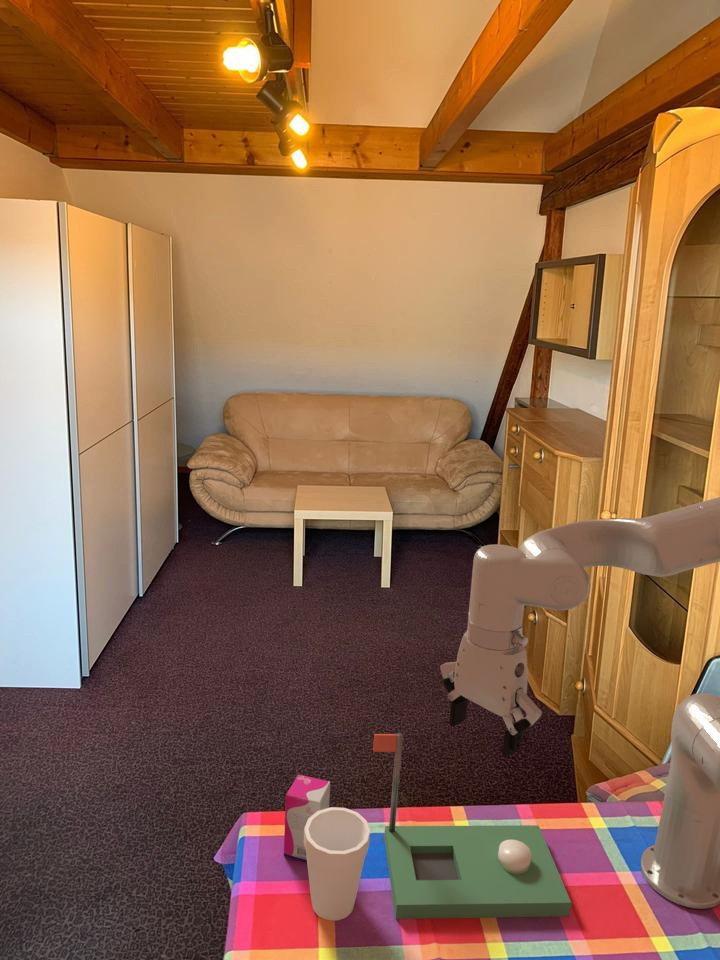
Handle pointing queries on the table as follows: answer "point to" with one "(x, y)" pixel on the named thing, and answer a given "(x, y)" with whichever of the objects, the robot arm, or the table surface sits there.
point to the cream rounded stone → (514, 856)
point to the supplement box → (302, 812)
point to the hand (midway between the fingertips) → (483, 737)
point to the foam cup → (335, 859)
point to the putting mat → (465, 866)
